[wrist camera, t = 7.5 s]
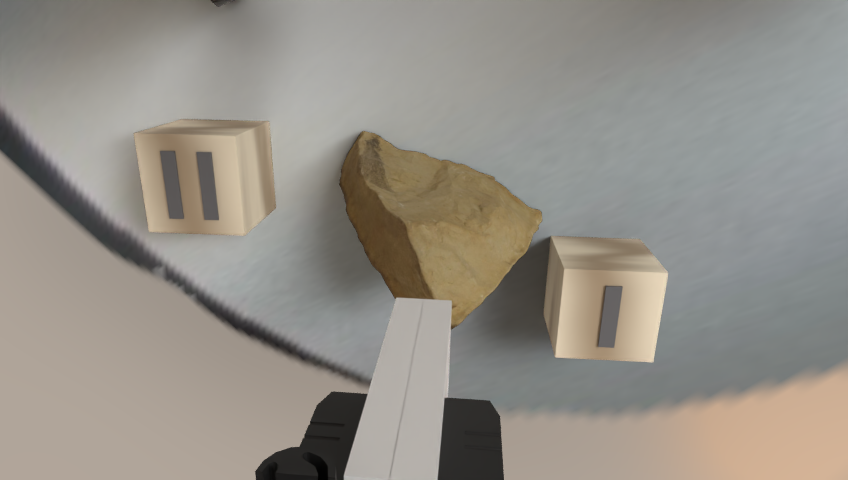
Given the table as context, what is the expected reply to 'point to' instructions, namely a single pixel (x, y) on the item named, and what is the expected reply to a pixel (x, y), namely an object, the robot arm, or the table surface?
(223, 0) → the coffee press
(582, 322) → the birch block
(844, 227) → the table surface
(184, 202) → the birch block
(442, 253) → the rock
